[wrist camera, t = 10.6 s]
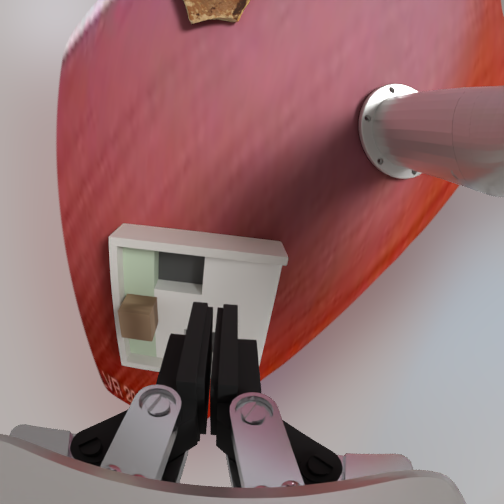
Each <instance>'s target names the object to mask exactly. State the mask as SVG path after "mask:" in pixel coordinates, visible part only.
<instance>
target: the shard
mask: <svg viewBox="0 0 504 504" xmlns="http://www.w3.org/2000/svg"><path fill="white" fill-rule="evenodd" d="M183 1H184V4H185V6H186V9H187V14H188V19H189V21H190V22H191V24H194V23H198V22H201V21H205V20H209V19H213V20H216V19H218V20H223V21H229V22H238V21H239V19H240V16H241V15H242V13H243V10H244V9H245V7H246V6H247V5H248V4H249V1H250V0H183Z"/></svg>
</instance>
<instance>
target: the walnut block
mask: <svg viewBox="0 0 504 504" xmlns="http://www.w3.org/2000/svg"><path fill="white" fill-rule="evenodd" d="M118 317H119V324H120V330H121V336H122V337H123V338H130V339H136V340H143V341H150V342H152V340H153V337H154V334H155V331H156V328H157V325H158V308H157V297H152V296H143V295H135V294H127V295H126V297H125V299H124V300H123V302H122V304H121V306H120V307H119V309H118Z"/></svg>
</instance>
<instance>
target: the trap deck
mask: <svg viewBox="0 0 504 504" xmlns="http://www.w3.org/2000/svg"><path fill="white" fill-rule="evenodd" d="M109 260H110V276H111V289H112V300H113V309H114V318H115V326H116V333H117V340H118V346H119V352H120V358H121V364H122V365H123V366H128V367H133V368H139V369H144V370H151V371H157V372H160V368H161V364H162V361H163V357H164V354H165V350H166V347H167V343H168V340H169V336H170V334H171V333H172V334H182V335H186V331H187V327H188V322H189V318H190V314H191V309H192V305H193V302H204V303H208V307H213V332H212V359H213V348H214V338H215V328H216V318H217V308H218V307H220V308H223V304H231V305H238V339H250V340H256V341H257V349H258V361H259V365H260V361H261V357H262V352H263V348H264V344H265V340H266V335H267V331H268V327H269V323H270V318H271V314H272V309H273V305H274V301H275V296H276V292H277V287H278V282H279V278H280V273H281V268H282V265H284V266H287V262H288V255H287V253H286V251H285V249H284V247H283V244H282V242H281V241H274V240H266V239H258V238H249V237H241V236H233V235H224V234H216V233H207V232H198V231H190V230H181V229H172V228H163V227H153V226H144V225H135V224H125V223H123V224H122V225H121V226H120V227H119V228H117V229H116V230H115V231H114V232H113V233H112V234H111V235H110V236H109ZM127 294H135V295H143V296H152V297H157V308H158V325H157V328H156V331H155V334H154V337H153V340H152V342H150V341H143V340H136V339H130V338H123V337H122V336H121V330H120V324H119V317H118V309H119V307H120V306H121V304H122V302H123V300H124V299H125V297H126V295H127ZM211 370H212V366H211ZM259 373H260V372H259Z"/></svg>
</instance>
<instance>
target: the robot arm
mask: <svg viewBox="0 0 504 504" xmlns="http://www.w3.org/2000/svg"><path fill="white" fill-rule="evenodd" d="M389 90H390V91H389ZM365 117H366V120H365ZM358 129H359V136H360V141H361V144H362V147H363V149H364V151H365V153H366V155H367V157H368V158H369V160H370V161H371V163H372V164H373V165H374V166H375V167H376V168H377V169H379V170H380V171H382V172H383V173H385V174H387V175H389V176H392V177H395V178H399V179H409V178H414V177H416V176H418V175H420V174H422V173H424V174H427V175H431V176H434V177H437V178H440V179H444V180H447V181H450V182H453V183H456V184H459V185H462V186H465V187H467V188H470V189H473V190H476V191H479V192H482V193H484V194H487V195H491V196H495V197H504V86H486V87H467V88H452V89H441V90H431V91H423V92H418V91H416V90H415V89H413V88H411V87H409V86H406V85H403V84H389V85H385V86H381V87H379V88H377V89H376V90H374V91H373V92H372V93H371V94H370V95H369V96H368V97H367V99H366V100H365V101H364V103H363V106H362V108H361V111H360V116H359V127H358ZM377 160H379V161H378V162H377ZM212 332H213V307H208V303H204V302H193V305H192V309H191V314H190V318H189V322H188V327H187V331H186V335H182V334H172V333H171V334H170V336H169V340H168V343H167V347H166V350H165V354H164V357H163V361H162V364H161V368H160V372H159V375H158V379H157V383H156V385H150V386H147V387H144V388H143V389H141V390H140V391H139V392H138V393H137V394H136V396H135V397H134V399H133V401H132V403H131V405H130V407H129V409H128V410H126V411H124V412H122V413H120V414H118V415H116V416H114V417H111V418H109V419H107V420H105V421H103V422H101V423H98V424H96V425H94V426H92V427H90V428H87V429H85V430H83V431H81V432H79V433H77V434H72V433H71V432H70V431H66V430H57V429H50V428H43V427H36V426H31V425H18V426H16V427H15V428H14V429H13V430H12V431H11V433H10V435H9V436H8V435H3V434H0V504H466V502H465V500H464V498H463V496H462V494H461V493H460V491H459V489H458V488H457V486H456V485H455V484H454V482H453V481H452V480H451V479H450V478H448V477H447V476H446V475H443V474H441V473H437V472H433V471H426V470H413V467H412V464H411V461H410V460H409V459H408V458H407V457H405V456H403V455H400V454H350V453H346V454H345V455H344V456H341V455H336V454H335V453H333V452H332V451H331V450H329V449H327V448H326V447H324V446H322V445H321V444H319V443H317V442H316V441H314V440H312V439H311V438H309V437H308V436H306V435H305V434H303V433H301V432H300V431H298V430H297V429H295V428H294V427H292V426H291V425H289V424H288V423H286V422H285V421H283V420H282V418H281V415H280V412H279V409H278V407H277V405H276V403H275V402H274V401H273V400H272V399H271V398H270V397H268V396H266V395H264V394H261V384H260V373H259V361H258V349H257V341H256V340H250V339H238V305H231V304H223V308H220V307H218V308H217V318H216V328H215V338H214V348H213V359H212ZM211 366H212V370H211ZM210 378H211V384H210ZM209 389H210V420H211V435H216V446H217V447H218V448H220V449H221V450H222V451H223V452H224V453H225V454H226V459H227V465H228V470H229V475H230V481H231V486H232V488H231V487H212V486H199V485H189V484H181V483H180V479H181V476H182V472H183V469H184V466H185V462H186V459H187V456H188V450H189V449H191V448H192V447H194V446H195V445H197V442H198V441H200V434H206V426H207V414H208V401H209Z"/></svg>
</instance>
